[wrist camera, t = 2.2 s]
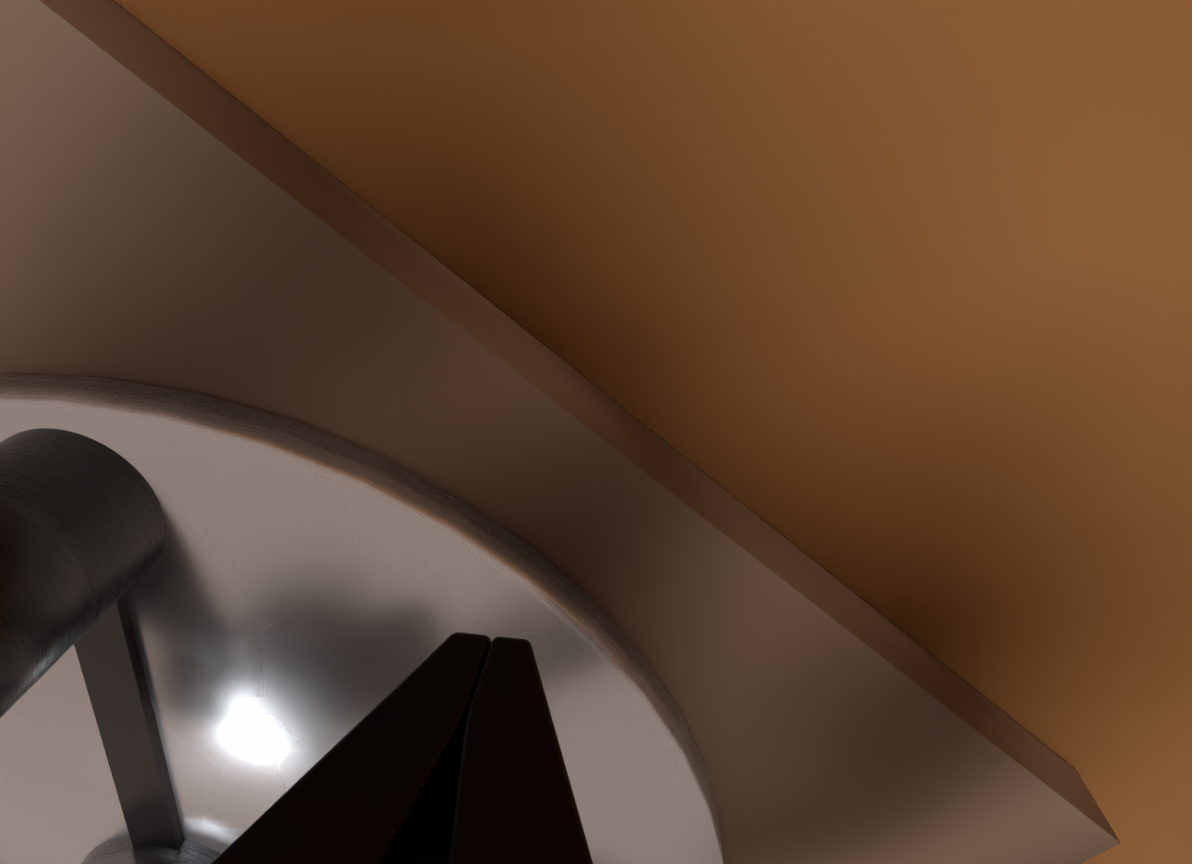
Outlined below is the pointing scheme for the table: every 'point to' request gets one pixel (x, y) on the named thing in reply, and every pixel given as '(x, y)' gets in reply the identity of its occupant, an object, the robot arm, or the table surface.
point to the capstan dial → (270, 630)
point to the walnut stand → (485, 446)
